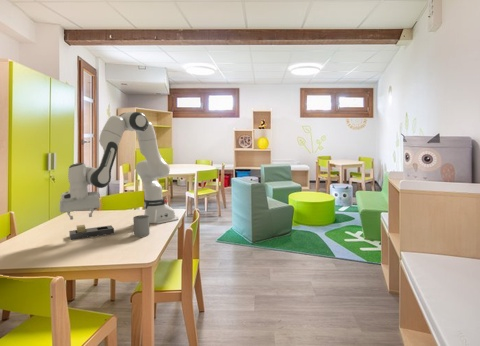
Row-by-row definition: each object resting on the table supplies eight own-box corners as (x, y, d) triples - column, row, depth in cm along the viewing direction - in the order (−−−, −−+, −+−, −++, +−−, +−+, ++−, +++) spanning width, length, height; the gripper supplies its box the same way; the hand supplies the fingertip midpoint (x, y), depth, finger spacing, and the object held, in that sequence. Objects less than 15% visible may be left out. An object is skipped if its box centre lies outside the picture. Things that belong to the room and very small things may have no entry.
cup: (151, 232, 194) (150, 215, 193) (147, 236, 186) (147, 218, 185) (136, 232, 194) (135, 215, 192) (132, 236, 185) (131, 218, 184)
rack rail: (111, 230, 199) (111, 225, 198) (114, 233, 192) (113, 228, 191) (69, 236, 188) (69, 230, 187) (70, 240, 181) (70, 234, 180)
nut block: (85, 235, 190) (84, 224, 189) (85, 236, 186) (85, 226, 185) (77, 236, 188) (76, 225, 187) (77, 238, 184) (77, 227, 183)
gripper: (98, 190, 192) (100, 214, 194) (57, 194, 182) (60, 219, 184) (100, 191, 187) (102, 216, 189) (58, 196, 177) (60, 222, 179)
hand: (81, 218), depth 186 cm, fingers open, 8 cm apart
